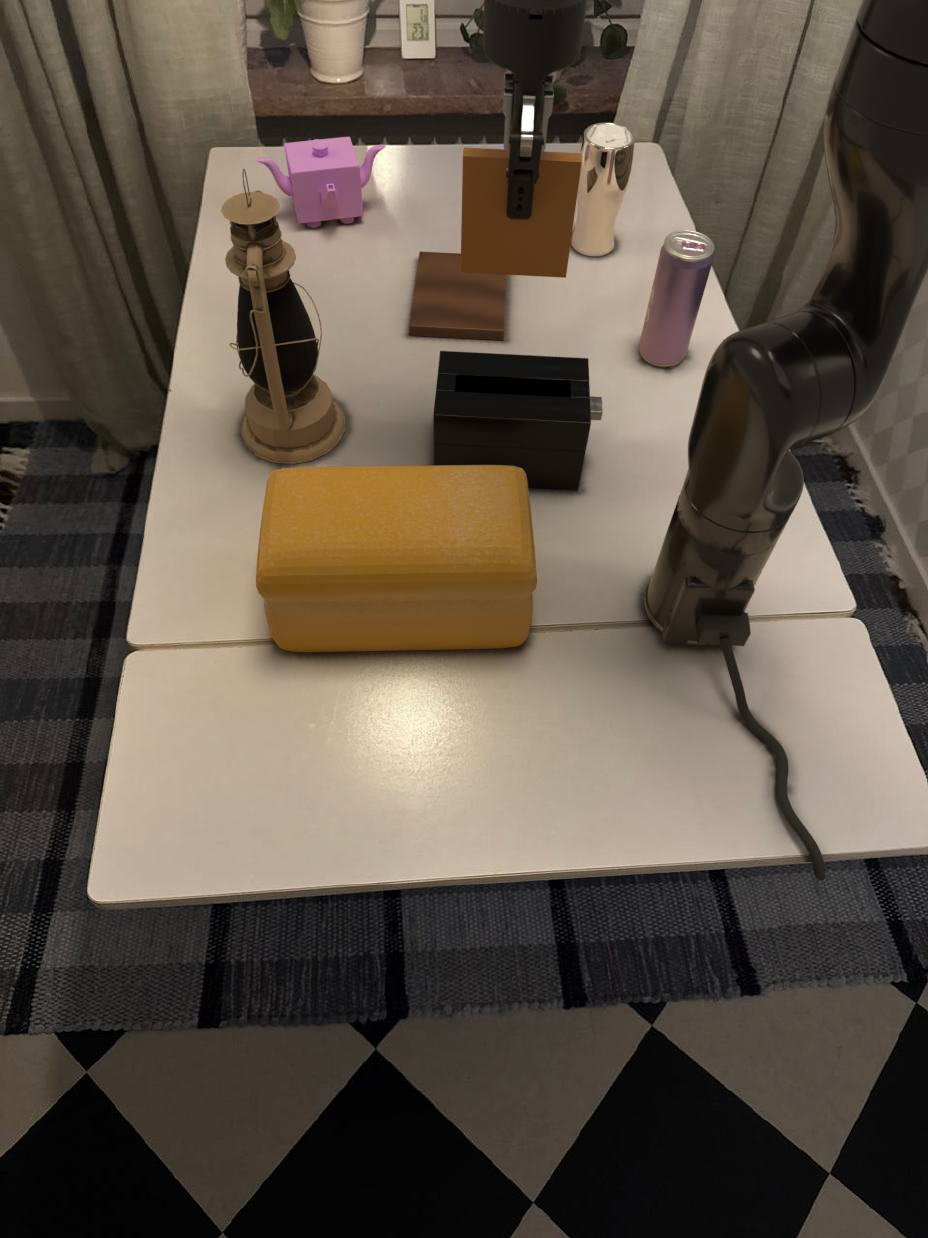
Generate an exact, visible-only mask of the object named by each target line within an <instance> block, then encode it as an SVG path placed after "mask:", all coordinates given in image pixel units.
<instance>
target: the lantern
mask: <svg viewBox="0 0 928 1238" xmlns="http://www.w3.org/2000/svg"><path fill="white" fill-rule="evenodd" d="M245 180H246V181H245ZM245 182H246V183H245ZM242 184H243V189H244V192H241V193H238V194H235V195H232V196H231V197H229V198H228V199H226V200H225V201H224V202H223V204H222V205H221V209H220V211H221V214H222V216H223V218H225V219H226V220H228V221H229V224H230V227H229V231H230V242H231V243H232V247H231V248H230V249H229V250H227V252H226V255H225V257H224V260H225V261H224V262H225V266H226V268H227V269H228V270H229V272H230V274H233V275H235V276H236V277H237V278H238V283H239V286H238V295H237V313H236V315H237V317H236V319H237V320H236V335H235V337H236V339H235V343H234V342H230V343H229V347H230V348H231V349H233V350H236V351H237V354H238V358H239V362H238V369H239V370H241V372H242V376H244V377H245V378H247V377H248V378H249V379H250V380H251V381H252V382H253V384H252V385H251V386H250V388H249V389H248V392H247V393H246V395H245V397H244V398H245V399H244V401H245V402H244V410H245V414H246V415H245V416H244V418H243V419H242V423H241V433H240V434H241V437H242V439H243V441H244V444H245V446H246V448H247V449H248V450H249V451H251V453H253V454H254V455H255V456H256V457H258V458H259V459H263V460H266V461H268V462H270V463H273V464H282V465H283V464H286V465H297V464H302V463H308V462H313V461H315V460H316V459H319V458H321V457H323V456H325V455H328V454H329V453H330V452H331V451H332V450H333V449H334V448H336V446H337V445H339V444H340V442H341V440H342V438H343V436H344V434H345V432H346V416H345V414H344V412H343V411H342V409H341V407H340V405H339V404H338V403H336V401H334V399H333V392H332V390H331V389H330V387H329V385H328V384H327V382H325V380H323V379H322V378H320V377H319V376H318V375H316V374H315V372H316V371H317V366H318V361H319V356H320V351H321V347H322V346H321V345H322V338H323V327H322V321H321V318H320V313H319V311H318V308H317V306H316V303H315V302H314V299H313V298H312V296H311V294H310V293H309V291H308V290H307V289H306V288H305V286H303V285H301V284H299V283H297V282H294V281H293V280H292V278H291V274H290V273H291V272H290V270H291V268H292V267H293V266H294V265H295V262H296V259H297V255H296V252H295V249H294V248H293V246H292V244H290V243H288V242H287V241H285V240H283V239H282V236H283V234H282V230H281V229H280V224H279V221H278V219H277V215H278V213H279V212H280V207H281V203H280V202H279V200H278V199H277V198H276V197H274V196H273V195H271V194H269V193H266V192H263V191H262V190H260V189H256V190H253V191H250V187H249V182H248V175H247V171H246V169H245V168H242ZM246 186H247V187H246ZM246 188H247V190H246ZM296 286H298V287H300V288H301V289H303V290H304V292H305V293H306V295H307V296H308V297H309V299H310V300H311V302H312V304H313V307H314V309H315V312H316V314H317V318H318V322H319V328H320V336H319V337H320V338H318V337H316V333H315V329H314V327H313V324H312V321H311V318H310V315H309V314H308V311H307V309H306V307H305V304H304V302H303V300H302V298H301V295H300V293H299V291H298V289H297V287H296ZM232 345H233V346H232ZM234 346H236V347H234ZM241 365H242V366H241Z"/></svg>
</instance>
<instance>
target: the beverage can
mask: <svg viewBox="0 0 928 1238" xmlns="http://www.w3.org/2000/svg"><path fill="white" fill-rule="evenodd" d="M715 248H716V247H715V243H714V241H713V240H712V239H711V238H710V237H709V236H707V235H706V234H704V233H702V232H699V231H697V230H688V229H680V230H676V231H673V232H671V233H669V234H668V235H666V237H665V239H664V242H663V244H662V245H661V248H660V251H659V255H658V259H657V264H656V268H655V272H654V278H653V281H652V286H651V290H650V295H649V299H648V304H647V309H646V312H645V317H644V321H643V325H642V329H641V334H640V338H639V343H638V350H639V353H640V356H641V357H642V358H643V359H644V361H645V362H647V363H648V364H650V365H652V366H655V367H660V368H670V367H674V366H676V365H678V364H679V363H681V362H682V361H683V360H684V359H685V357H686V356H687V353H688V349H689V346H690V342H691V339H692V335H693V333H694V332H693V331H694V329H695V325H696V321H697V318H698V315H699V311H700V307H701V305H702V301H703V297H704V293H705V289H706V288H707V287H706V286H707V283H708V279H709V276H710V272H711V269H712V265H713V263H714V260H715V259H714V258H715V255H714V252H715Z"/></svg>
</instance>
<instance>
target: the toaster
mask: <svg viewBox="0 0 928 1238" xmlns="http://www.w3.org/2000/svg"><path fill="white" fill-rule="evenodd" d="M437 367H438V369H437V376H436V386H435V394H434V395H435V396H434V404H433V413H432V416H433V417H432V421H433V422H432V423H433V425H432V426H433V429H432V430H433V466H443V465H506V466H516V467H519V468H522V469H523V470H524V472H525V473H526V476H527V482H528V489H543V490H544V489H545V490H564V491H579V488H580V483H581V478H582V473H583V469H584V463H585V457H586V452H587V448H588V447H587V446H588V441H589V437H590V431H591V425H592V421H602V417H603V412H604V411H603V397H602V396H593V395H591V389H590V364H589V358H588V357H569V356H550V355H534V354H533V355H530V354H511V353H493V352H492V353H491V352H476V351H475V352H473V351H456V350H455V351H454V350H452V351H451V350H440V351H439V358H438V365H437Z"/></svg>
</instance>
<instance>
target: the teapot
mask: <svg viewBox="0 0 928 1238" xmlns="http://www.w3.org/2000/svg"><path fill="white" fill-rule="evenodd" d="M283 146H284V147H283V148H284V153H285V161H286V166H287V172H288V173H287V174H288V175H285V174H284V173H283V172H282V171H281V169H280V168H279V165H278V164H277V162H276V161H275V160H274V159H272V158H270V157H267V156H266V157H265V156H263V157H262V156H261V157H256V158H255V159H254V161H256V162H257V163H260V164H263V165H264V166H265V167H267V168H268V170H269V171H270V173H271V175H272V176H273V179H274V181H275V183H276V186H277V187H278V188H279V189H280V191H281V192H282V193H283V194H284V195H286V196H287V197H291V198H292V201H293V206H294V209H295V214H296V218H297V222H298V224H306V225H307V226H308V227H309V228H312V229H313V228H319V227H320V226H321V225H322V222H325V221H332V220H340V222H341V223H342V224H345V225H346V224H347V225H348V224H352V223H353V222H354V221H355V219H354V218H358V217H364V216H365V214H364V204H363V203H364V202H363V201H364V200H363V189H364V188H365V187H366V186H367V185H368V183H369V181H370V178H371V177H372V176H371V175H372V170H373V165H374V161H375V159H376V156H377V155H378V154H379V152H381V151H382V150H384V149H385V148H386V147H387V146H386V145H385V144H377V145H373V146H371V147H370V148H369V149H368V150H367V152H366V154H365V157H364V161H363V163H362V164H361V165H360V164H359V161H358V157H357V154H356V151H355V148H354V145H353V141H352V140H351V137H350V136H341V137H332V138H323V139H319V138H316V139H313V140H304V141H293V142H285V143H284V144H283Z"/></svg>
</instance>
